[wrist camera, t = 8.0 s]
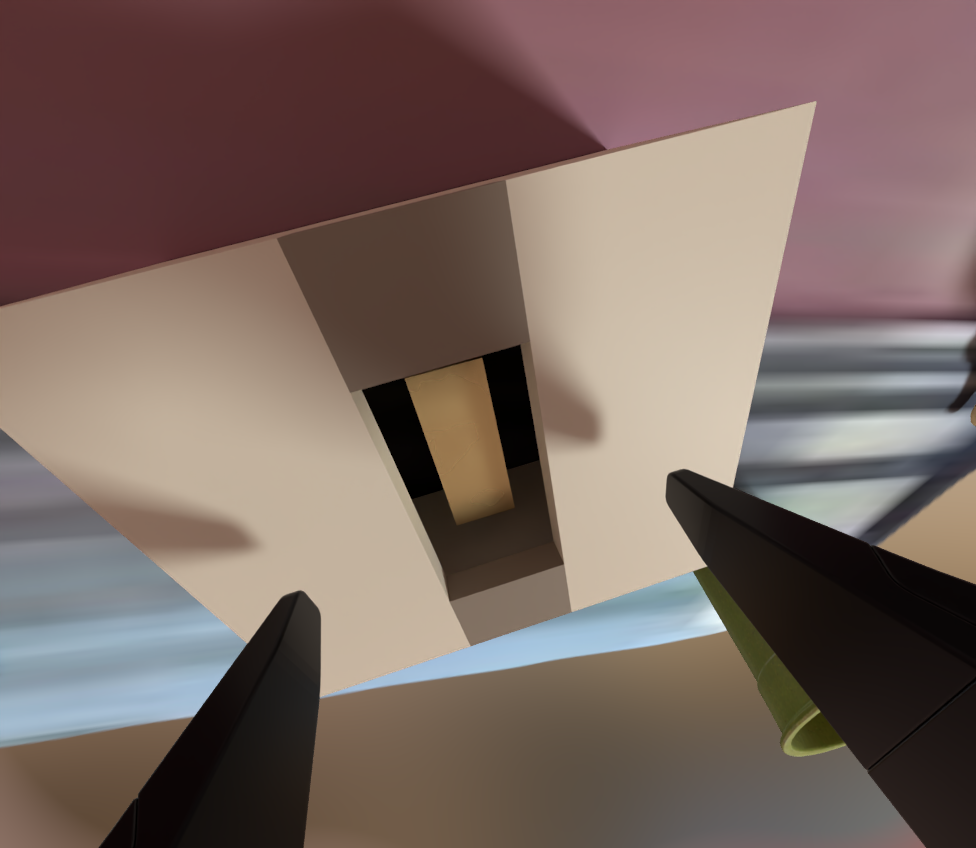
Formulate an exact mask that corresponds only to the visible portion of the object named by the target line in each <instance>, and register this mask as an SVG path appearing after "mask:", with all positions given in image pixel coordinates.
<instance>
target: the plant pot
mask: <svg viewBox="0 0 976 848" xmlns="http://www.w3.org/2000/svg"><path fill="white" fill-rule="evenodd" d="M693 572H694V574H695V576H696V578H697V579H698V581H699V583H700V584H701V586H702V588H703V590H704V591H705V593H706V595H707V597H708V598H709V600H710V602H711V603H712V605H713V607H714V609H715V610H716V612H717V614H718V615H719V617H720V619H721V620H722V622H723V624H724V626H725V627H726V629H727V631H728V632H729V634H730V636H731V638H732V639H733V641H734V643H735V644H736V646H737V648H738V650H739V651H740V653H741V655H742V656H743V658H744V660H745V662H746V663H747V665H748V667H749V668H750V670H751V672H752V674H753V675H754V677H755V679H756V681H757V682H758V683H757V685H758V690H759V692H760V694H761V696H762V697H763V699H764V701H765V703H766V704H767V706H768V708H769V710H770V712H771V713H772V715H773V717H774V719H775V721H776V723H777V725H778V727H779V728H780V730H781V732H782V737H781V740H780V744H781V748H782V750H783V751H784V753H786V754H788V755H791V756H808V755H814V754H819V753H823V752H827V751H830V750H834V749H837V748H839V747H843V746H846V744H845V743H844V741H843V740H842V739H841V737H840V736H839V735H838V734H837V732H836V731H835V730H834V728H833V727H832V726H831V725H830V723H829V722H828V721H827V720H826V718H825V717H824V716H823V714H822V713H821V712H820V711H819V709H818V708H817V707H816V705H815V704H814V703H813V702H812V700H811V699H810V698H809V696H808V695H807V694H806V693H805V691H804V690H803V689H802V687H801V686H800V685H799V684H798V682H797V681H796V680H795V678H794V677H793V676H792V675H791V673H790V672H789V671H788V670H787V668H786V667H785V666H784V664H783V663H782V662H781V661H780V659H779V658H778V657H777V655H776V654H775V653H774V652H773V650H772V649H771V648H770V646H769V645H768V644H767V643H766V641H765V640H764V639H763V637H762V636H761V635H760V634H759V632H758V631H757V630H756V628H755V627H754V626H753V625H752V623H751V622H750V621H749V619H748V618H747V617H746V616H745V614H744V613H743V612H742V611H741V609H740V608H739V607H738V605H737V604H736V603H735V602H734V600H733V599H732V598H731V596H730V595H729V594H728V593H727V591H726V590H725V589H724V587H723V586H722V585H721V584H720V582H719V581H718V580H717V578H716V577H715V576H714V575H713V573H712V572H711V571H710V569H709V568H708V567H704V568H701V569H698V570H695V571H693Z"/></svg>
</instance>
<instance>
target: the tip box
mask: <svg viewBox="0 0 976 848" xmlns="http://www.w3.org/2000/svg"><path fill="white" fill-rule="evenodd" d="M816 102H817V101H815V102H811V103H806V104H802V105H798V106H793V107H789V108H785V109H781V110H776V111H772V112H768V113H763V114H759V115H755V116H750V117H746V118H742V119H737V120H733V121H729V122H725V123H720V124H716V125H712V126H707V127H703V128H699V129H694V130H690V131H686V132H682V133H677V134H673V135H669V136H664V137H660V138H656V139H651V140H647V141H643V142H639V143H634V144H630V145H626V146H621V147H617V148H613V149H608V150H604V151H600V152H597V153H593V154H589V155H585V156H581V157H577V158H573V159H569V160H565V161H561V162H557V163H553V164H549V165H545V166H541V167H537V168H533V169H529V170H525V171H521V172H518V173H514V174H510V175H506V176H502V177H498V178H494V179H490V180H486V181H482V182H478V183H474V184H470V185H466V186H462V187H458V188H454V189H450V190H446V191H442V192H439V193H435V194H431V195H427V196H423V197H419V198H415V199H411V200H407V201H403V202H399V203H395V204H391V205H387V206H383V207H379V208H375V209H371V210H367V211H363V212H360V213H356V214H352V215H348V216H344V217H340V218H336V219H332V220H328V221H324V222H320V223H316V224H312V225H308V226H304V227H300V228H296V229H292V230H288V231H284V232H281V233H277V234H273V235H269V236H265V237H261V238H257V239H253V240H249V241H245V242H241V243H237V244H233V245H229V246H225V247H221V248H217V249H213V250H209V251H205V252H201V253H198V254H194V255H190V256H186V257H182V258H178V259H174V260H170V261H166V262H162V263H158V264H155V265H151V266H147V267H144V268H140V269H136V270H133V271H129V272H125V273H122V274H118V275H114V276H111V277H107V278H103V279H100V280H96V281H92V282H89V283H85V284H81V285H78V286H74V287H70V288H67V289H63V290H59V291H56V292H52V293H48V294H44V295H41V296H37V297H33V298H30V299H26V300H22V301H19V302H15V303H11V304H8V305H4V306H0V428H1V429H2V430H3V431H4V432H5V433H7V434H8V435H9V436H10V437H11V438H12V439H13V440H15V441H16V442H17V443H18V444H19V445H20V446H22V447H23V448H24V449H25V450H26V451H27V452H28V453H30V454H31V455H32V456H33V457H34V458H35V459H36V460H38V461H39V462H40V463H41V464H42V465H43V466H44V467H46V468H47V469H48V470H49V471H50V472H51V473H52V474H54V475H55V476H56V477H57V478H58V479H59V480H60V481H62V482H63V483H64V484H65V485H66V486H67V487H68V488H70V489H71V490H72V491H73V492H74V493H75V494H77V495H78V496H79V497H80V498H81V499H82V500H83V501H85V502H86V503H87V504H88V505H89V506H90V507H91V508H93V509H94V510H95V511H96V512H97V513H98V514H99V515H101V516H102V517H103V518H104V519H105V520H106V521H107V522H109V523H110V524H111V525H112V526H113V527H114V528H115V529H117V530H118V531H119V532H120V533H121V534H122V535H123V536H125V537H126V538H127V539H128V540H129V541H130V542H131V543H133V544H134V545H135V546H136V547H137V548H138V549H140V550H141V551H142V552H143V553H144V554H145V555H146V556H148V557H149V558H150V559H151V560H152V561H153V562H154V563H156V564H157V565H158V566H159V567H160V568H161V569H162V570H164V571H165V572H166V573H167V574H168V575H169V576H170V577H172V578H173V579H174V580H175V581H176V582H177V583H178V584H180V585H181V586H182V587H183V588H184V589H185V590H186V591H188V592H189V593H190V594H191V595H192V596H193V597H195V598H196V599H197V600H198V601H199V602H200V603H201V604H203V605H204V606H205V607H206V608H207V609H208V610H209V611H211V612H212V613H213V614H214V615H215V616H216V617H217V618H219V619H220V620H221V621H222V622H223V623H224V624H225V625H227V626H228V627H229V628H230V629H231V630H232V631H233V632H235V633H236V634H237V635H238V636H239V637H240V638H241V639H243V640H244V641H245V642H246V643H248V642H249V641H250V639H251V638H252V637H253V635H254V634H255V633H256V631H257V630H258V628H259V627H260V626H261V624H262V623H263V622H264V620H265V619H266V617H267V616H268V615H269V613H270V612H271V611H272V609H273V608H274V606H275V605H276V604H277V602H278V601H279V600H280V598H281V597H282V596H284V595H286V594H289V593H292V592H295V591H298V590H302V591H304V592H305V593H306V594H307V595H308V596H309V598H310V599H311V600H312V601H313V602H314V604H315V605H316V606H317V607H318V609H319V611H320V614H321V686H320V697H322V696H325V695H327V694H330V693H333V692H336V691H339V690H342V689H345V688H348V687H351V686H354V685H357V684H360V683H363V682H366V681H369V680H372V679H375V678H378V677H381V676H384V675H387V674H390V673H393V672H396V671H399V670H402V669H405V668H408V667H410V666H413V665H416V664H419V663H422V662H425V661H428V660H431V659H434V658H437V657H440V656H443V655H446V654H449V653H452V652H455V651H458V650H461V649H464V648H467V647H470V646H473V645H476V644H479V643H482V642H485V641H488V640H491V639H493V638H496V637H499V636H502V635H505V634H508V633H511V632H514V631H517V630H520V629H523V628H526V627H529V626H532V625H535V624H538V623H541V622H544V621H547V620H550V619H553V618H556V617H559V616H562V615H565V614H568V613H571V612H574V611H576V610H579V609H582V608H585V607H588V606H591V605H594V604H597V603H600V602H603V601H606V600H609V599H612V598H615V597H618V596H621V595H624V594H627V593H630V592H633V591H636V590H639V589H642V588H645V587H648V586H651V585H654V584H656V583H659V582H662V581H665V580H668V579H671V578H674V577H677V576H680V575H683V574H686V573H689V572H692V571H695V570H698V569H701V568H704V567H707V565H706V564H705V563H704V561H703V560H702V559H701V557H700V556H699V554H698V553H697V551H696V549H695V548H694V546H693V545H692V543H691V542H690V540H689V538H688V537H687V535H686V534H685V532H684V530H683V529H682V527H681V526H680V524H679V522H678V521H677V519H676V518H675V516H674V514H673V513H672V511H671V510H670V508H669V506H668V504H667V502H666V498H665V493H666V480H667V475H668V474H669V473H670V472H673V471H676V470H680V469H688V470H690V471H693V472H695V473H698V474H700V475H703V476H705V477H708V478H710V479H712V480H715V481H717V482H720V483H722V484H725V485H727V486H730V487H732V488H733V484H734V480H735V475H736V470H737V466H738V461H739V457H740V452H741V447H742V443H743V438H744V434H745V429H746V424H747V420H748V415H749V411H750V406H751V401H752V397H753V392H754V387H755V383H756V378H757V374H758V369H759V364H760V360H761V355H762V351H763V346H764V341H765V337H766V332H767V328H768V323H769V318H770V314H771V309H772V304H773V300H774V295H775V291H776V286H777V281H778V277H779V272H780V268H781V263H782V258H783V254H784V249H785V245H786V240H787V235H788V231H789V226H790V221H791V217H792V212H793V208H794V203H795V198H796V194H797V189H798V185H799V180H800V175H801V171H802V166H803V162H804V157H805V152H806V148H807V143H808V138H809V134H810V129H811V125H812V120H813V115H814V111H815V106H816ZM517 345H521V351H522V357H523V363H524V369H525V375H526V381H527V386H528V392H529V398H530V404H531V410H532V416H533V422H534V428H535V434H536V440H537V446H538V451H539V457H540V460H538V461H535V462H531V463H528V464H525V465H522V466H518V467H515V468H512V469H509V470H507V474H508V478H509V483H510V488H511V492H512V497H513V501H514V506H515V508H513V509H510V510H507V511H503V512H500V513H497V514H494V515H490V516H487V517H484V518H480V519H477V520H474V521H470V522H467V523H464V524H461V525H456V522H455V519H454V516H453V514H452V511H451V508H450V505H449V502H448V499H447V497H446V494H445V491H444V489H443V490H440V491H437V492H434V493H430V494H427V495H424V496H421V497H417V498H414V499H411V498H410V495H409V493H408V491H407V489H406V487H405V484H404V482H403V480H402V478H401V476H400V473H399V471H398V469H397V467H396V465H395V462H394V460H393V458H392V456H391V454H390V451H389V449H388V447H387V445H386V442H385V440H384V438H383V436H382V434H381V431H380V429H379V427H378V425H377V423H376V420H375V418H374V416H373V414H372V412H371V409H370V407H369V405H368V403H367V401H366V398H365V396H364V394H363V392H362V389H366V388H369V387H373V386H376V385H380V384H384V383H387V382H391V381H394V380H398V379H401V378H405V377H408V376H412V375H415V374H419V373H422V372H426V371H429V370H433V369H436V368H440V367H443V366H447V365H450V364H454V363H457V362H461V361H464V360H468V359H471V358H475V357H478V356H482V355H485V354H489V353H492V352H496V351H499V350H503V349H506V348H510V347H513V346H517Z"/></svg>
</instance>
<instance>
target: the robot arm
mask: <svg viewBox="0 0 976 848" xmlns="http://www.w3.org/2000/svg"><path fill="white" fill-rule="evenodd" d="M665 498H666V502H667V504H668V506H669V508H670V510H671V511H672V513H673V514H674V516H675V518H676V519H677V521H678V522H679V524H680V526H681V527H682V529H683V530H684V532H685V534H686V535H687V537H688V538H689V540H690V542H691V543H692V545H693V546H694V548H695V549H696V551H697V553H698V554H699V556H700V557H701V559H702V560H703V561H704V563H705V564H706V565H707V567H708V568H709V569H710V571H711V572H712V573H713V575H714V576H715V577H716V578H717V580H718V581H719V582H720V584H721V585H722V586H723V587H724V589H725V590H726V591H727V593H728V594H729V595H730V596H731V598H732V599H733V600H734V602H735V603H736V604H737V605H738V607H739V608H740V609H741V611H742V612H743V613H744V614H745V616H746V617H747V618H748V619H749V621H750V622H751V623H752V625H753V626H754V627H755V628H756V630H757V631H758V632H759V634H760V635H761V636H762V637H763V639H764V640H765V641H766V643H767V644H768V645H769V646H770V648H771V649H772V650H773V652H774V653H775V654H776V655H777V657H778V658H779V659H780V661H781V662H782V663H783V664H784V666H785V667H786V668H787V670H788V671H789V672H790V673H791V675H792V676H793V677H794V678H795V680H796V681H797V682H798V684H799V685H800V686H801V687H802V689H803V690H804V691H805V693H806V694H807V695H808V696H809V698H810V699H811V700H812V702H813V703H814V704H815V705H816V707H817V708H818V709H819V711H820V712H821V713H822V714H823V716H824V717H825V718H826V720H827V721H828V722H829V723H830V725H831V726H832V727H833V728H834V730H835V731H836V732H837V734H838V735H839V736H840V737H841V739H842V740H843V741H844V743H845V744H846V745H847V746H848V748H849V749H850V750H851V751H852V753H853V754H854V755H855V757H856V758H857V759H858V760H859V762H860V763H861V764H862V766H863V767H864V768H865V769H866V770H867V772H868V774H869V775H870V776H871V778H872V779H873V780H874V781H875V783H876V784H877V785H878V787H879V788H880V789H881V790H882V792H883V793H884V794H885V796H886V797H887V798H888V799H889V801H890V802H891V803H892V805H893V806H894V807H895V808H896V810H897V811H898V812H899V814H900V815H901V816H902V817H903V819H904V820H905V821H906V823H907V824H908V825H909V826H910V828H911V829H912V830H913V831H914V833H915V834H916V835H917V836H918V838H919V839H920V840H921V842H922V843H923V844H924V845H925V847H926V848H976V584H973V583H970V582H968V581H965V580H962V579H959V578H956V577H954V576H951V575H948V574H945V573H943V572H940V571H937V570H935V569H932V568H930V567H927V566H925V565H922V564H919V563H917V562H914V561H912V560H909V559H907V558H904V557H902V556H899V555H897V554H894V553H891V552H889V551H887V550H884V549H882V548H879V547H877V546H874V545H871V546H870V545H869V544H868V543H867V542H864V541H862V540H859V539H857V538H855V537H852V536H850V535H847V534H845V533H842V532H840V531H837V530H835V529H833V528H830V527H828V526H825V525H823V524H820V523H818V522H815V521H813V520H810V519H808V518H806V517H803V516H801V515H798V514H796V513H793V512H791V511H788V510H786V509H784V508H781V507H779V506H776V505H774V504H771V503H769V502H766V501H764V500H761V499H759V498H757V497H754V496H752V495H749V494H747V493H744V492H742V491H739V490H737V489H735V488H732V487H730V486H727V485H725V484H722V483H720V482H717V481H715V480H712V479H710V478H708V477H705V476H703V475H700V474H698V473H695V472H693V471H690V470H688V469H680V470H676V471H673V472H670V473H669V474H668V475H667V480H666V493H665ZM320 686H321V614H320V611H319V609H318V607H317V606H316V605H315V604H314V602H313V601H312V600H311V599H310V598H309V596H308V595H307V594H306V593H305V592H304V591H302V590H298V591H295V592H292V593H289V594H286V595H284V596H282V597H281V598H280V600H279V601H278V602H277V604H276V605H275V606H274V608H273V609H272V611H271V612H270V613H269V615H268V616H267V617H266V619H265V620H264V622H263V623H262V624H261V626H260V627H259V628H258V630H257V631H256V633H255V634H254V635H253V637H252V638H251V639H250V641H249V642H248V643H247V645H246V646H245V648H244V649H243V650H242V652H241V653H240V654H239V656H238V657H237V659H236V660H235V661H234V663H233V664H232V665H231V667H230V668H229V670H228V671H227V672H226V674H225V675H224V676H223V678H222V679H221V681H220V682H219V683H218V685H217V686H216V687H215V689H214V690H213V692H212V693H211V694H210V696H209V697H208V698H207V700H206V701H205V703H204V704H203V705H202V707H201V708H200V709H199V711H198V712H197V714H196V715H195V716H194V718H193V719H192V721H191V722H190V723H189V725H188V726H187V727H186V729H185V730H184V731H183V733H182V734H181V736H180V737H179V739H178V740H177V741H176V742H175V744H174V745H173V747H172V748H171V749H170V751H169V752H168V753H167V755H166V756H165V758H164V759H163V760H162V762H161V763H160V764H159V766H158V767H157V769H156V770H155V771H154V773H153V774H152V775H151V777H150V778H149V780H148V781H147V782H146V784H145V785H144V786H143V788H142V789H141V791H140V792H139V794H138V798H136V799H134V800H133V801H132V803H131V804H130V805H129V807H128V808H127V810H126V811H125V812H124V814H123V815H122V816H121V818H120V819H119V821H118V822H117V823H116V825H115V826H114V827H113V829H112V830H111V832H110V833H109V834H108V836H107V837H106V838H105V840H104V841H103V842H102V844H101V845H100V846H99V848H304V839H305V829H306V820H307V810H308V801H309V792H310V783H311V774H312V764H313V755H314V745H315V736H316V727H317V718H318V709H319V699H320Z"/></svg>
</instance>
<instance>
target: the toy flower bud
mask: <svg viewBox="0 0 976 848" xmlns="http://www.w3.org/2000/svg"><path fill="white" fill-rule="evenodd" d="M971 423H972V424H973V425H974V426H976V405H975V407H974V408H973V410H972V412H971Z"/></svg>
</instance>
